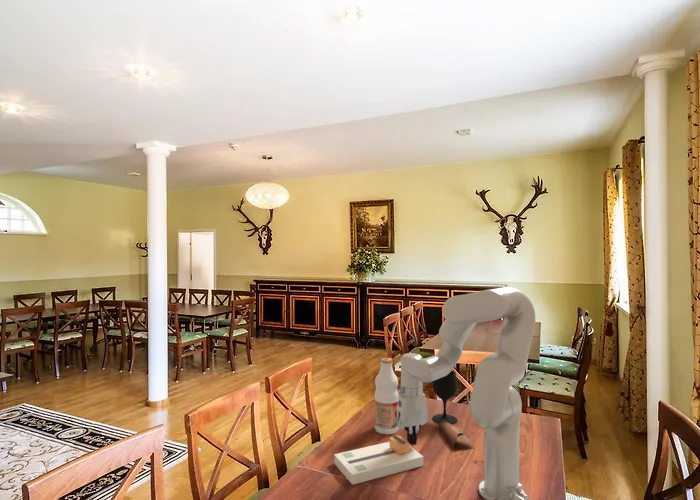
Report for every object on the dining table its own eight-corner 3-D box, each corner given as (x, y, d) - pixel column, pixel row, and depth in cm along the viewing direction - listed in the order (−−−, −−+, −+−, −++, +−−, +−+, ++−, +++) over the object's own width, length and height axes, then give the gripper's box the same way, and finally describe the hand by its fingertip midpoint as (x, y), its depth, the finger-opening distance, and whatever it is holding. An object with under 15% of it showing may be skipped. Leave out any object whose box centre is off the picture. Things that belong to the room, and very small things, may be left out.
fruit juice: (371, 426, 167) (371, 356, 167) (393, 423, 169) (393, 355, 169) (378, 436, 158) (378, 362, 158) (402, 433, 160) (402, 361, 160)
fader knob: (399, 444, 144) (399, 433, 144) (409, 452, 138) (409, 440, 138) (389, 447, 142) (389, 435, 142) (398, 454, 136) (398, 443, 136)
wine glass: (430, 423, 170) (430, 374, 170) (433, 413, 180) (433, 367, 180) (457, 426, 167) (456, 376, 167) (458, 416, 177) (457, 369, 177)
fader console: (400, 447, 148) (400, 438, 148) (423, 465, 136) (423, 456, 136) (334, 463, 137) (334, 454, 137) (352, 484, 125) (352, 474, 125)
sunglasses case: (477, 448, 147) (467, 433, 147) (460, 459, 147) (451, 444, 146) (458, 427, 165) (450, 413, 165) (443, 437, 165) (435, 423, 164)
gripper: (399, 396, 136) (399, 452, 136) (436, 390, 142) (436, 443, 142) (387, 390, 143) (387, 443, 143) (423, 384, 149) (423, 435, 149)
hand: (411, 443), depth 142 cm, fingers closed
